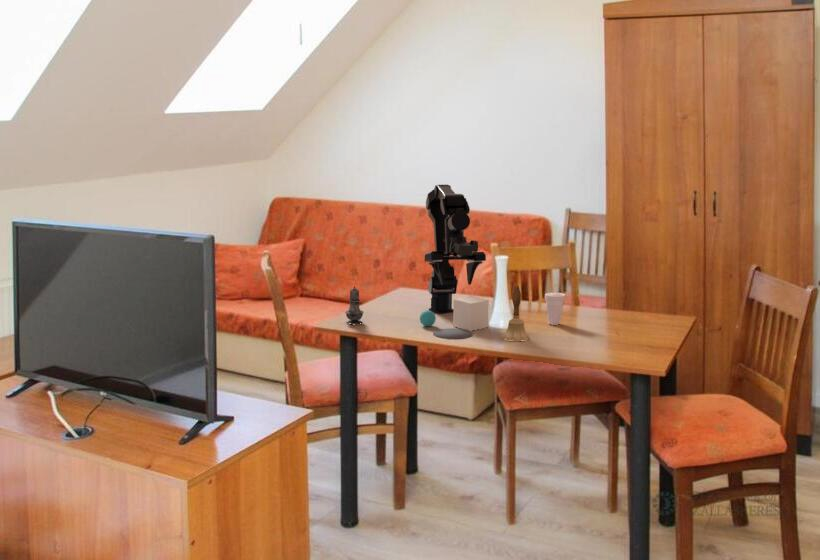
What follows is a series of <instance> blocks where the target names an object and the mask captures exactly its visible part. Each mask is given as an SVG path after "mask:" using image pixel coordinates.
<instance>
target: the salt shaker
mask: <svg viewBox="0 0 820 560" xmlns="http://www.w3.org/2000/svg"><path fill="white" fill-rule="evenodd" d="M348 301H349V308H348V310H346V311H344V313H345V316H346V318H347V319H348V323H351V324H360V323H361V324H360V325H363V324H362V323H363V321H362V320H361V319H362V318H363V314H365V312H364V311H363V310H361V307H360V301H361V299H360V290H359V289H358V288H356V286H355V285H354V286H353V288H352V289H350V291H349V300H348Z"/></svg>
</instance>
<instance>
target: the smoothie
mask: <svg viewBox="0 0 820 560" xmlns="http://www.w3.org/2000/svg"><path fill="white" fill-rule="evenodd" d="M554 283H555V284H554V291H553V292H546V293H545V294H544V298H545V304H546V313H547V314H546V315H547V324H548V323H549V324H553V325H556V324H560V325H561V319H562V313H563V307H564V300H565V299H566V295H565V293H561V292H557V291H558V290H557V289H558V288H557V287H558V280H555V282H554ZM549 324H548V325H549ZM553 325H552V326H553Z"/></svg>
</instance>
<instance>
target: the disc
mask: <svg viewBox="0 0 820 560" xmlns="http://www.w3.org/2000/svg"><path fill="white" fill-rule="evenodd" d="M432 334H433V336H435V337H437V338H441V339H445V338H446V339H447V340H464V339H468V338H470V337H473V335H474V333H473V331H468V330H464V329H460V328H456V327H453V328H450V327H449V328H448V327H447V328H439V329H437V330H435V331H433V333H432Z"/></svg>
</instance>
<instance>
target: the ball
mask: <svg viewBox="0 0 820 560" xmlns="http://www.w3.org/2000/svg"><path fill="white" fill-rule="evenodd" d="M436 320H437V318H436V315H435V312H433V311H430V310H429V309H428V310H424V311H422V312H421V313H420V316H419V321H420V324H421V325H423V326H424V327H432V326H433V325H434V324H435V323H436Z"/></svg>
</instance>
